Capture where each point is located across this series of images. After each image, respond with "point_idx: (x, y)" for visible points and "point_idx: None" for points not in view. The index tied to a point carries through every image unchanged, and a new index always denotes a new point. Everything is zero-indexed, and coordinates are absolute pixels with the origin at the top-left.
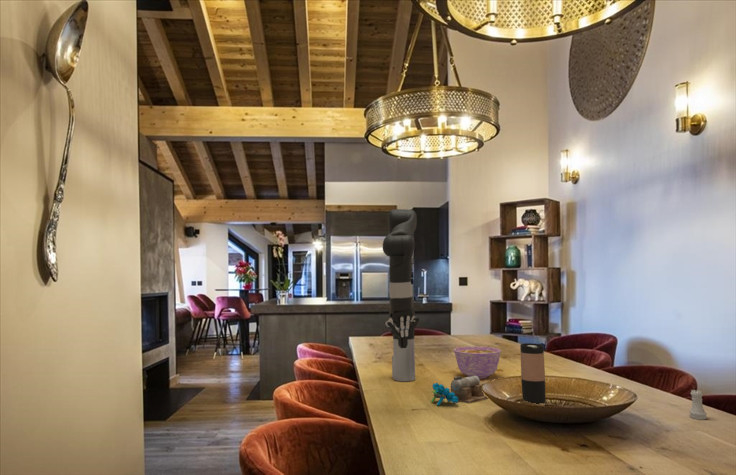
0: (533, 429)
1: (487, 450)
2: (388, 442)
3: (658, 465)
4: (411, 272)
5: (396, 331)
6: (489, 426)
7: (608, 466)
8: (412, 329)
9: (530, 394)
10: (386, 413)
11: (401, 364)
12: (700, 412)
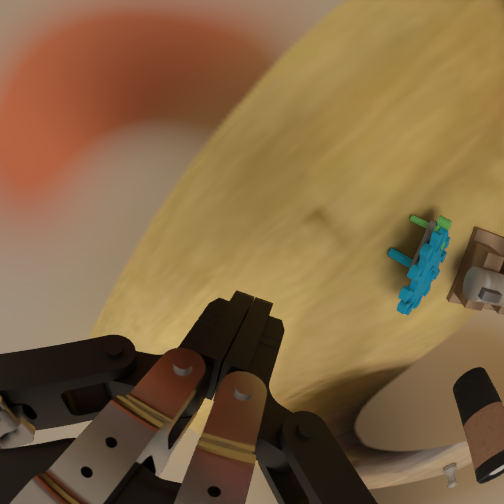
0: (332, 425)
1: (209, 409)
2: (119, 305)
3: None
4: None
5: (96, 408)
6: (306, 391)
7: None
8: (292, 485)
9: (459, 403)
10: (228, 182)
11: None
12: (445, 473)
